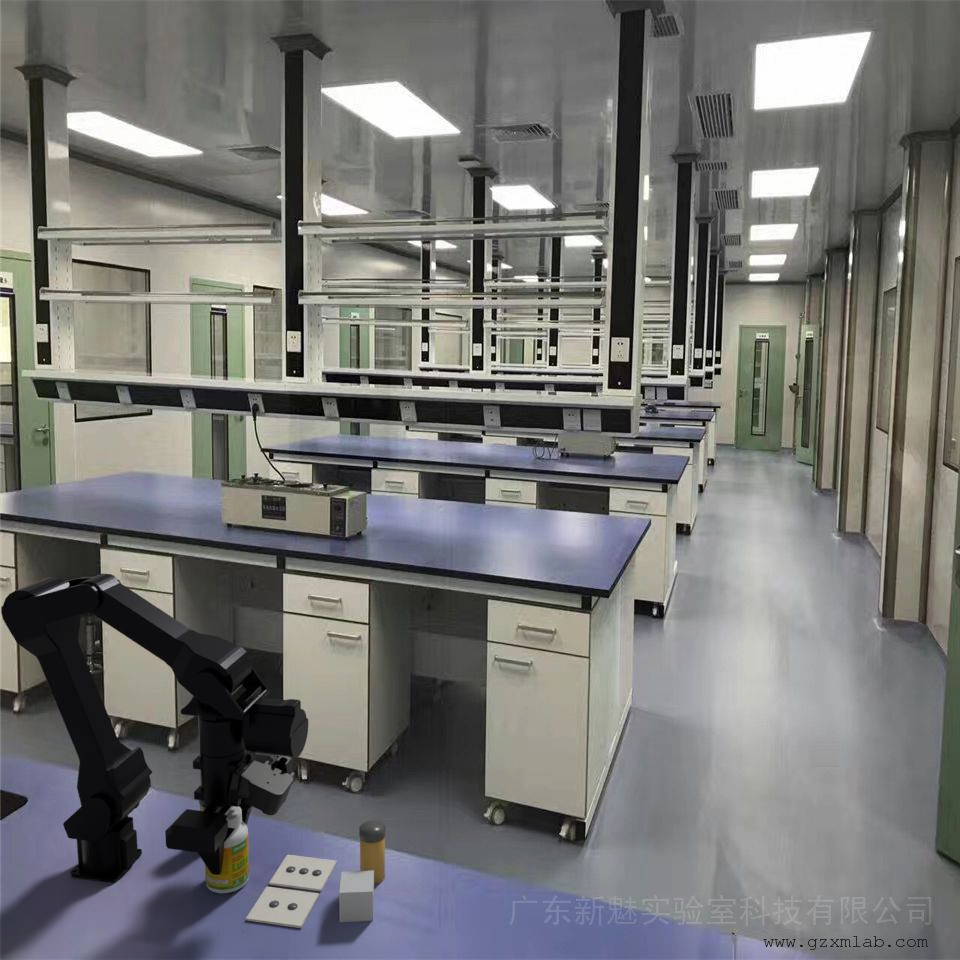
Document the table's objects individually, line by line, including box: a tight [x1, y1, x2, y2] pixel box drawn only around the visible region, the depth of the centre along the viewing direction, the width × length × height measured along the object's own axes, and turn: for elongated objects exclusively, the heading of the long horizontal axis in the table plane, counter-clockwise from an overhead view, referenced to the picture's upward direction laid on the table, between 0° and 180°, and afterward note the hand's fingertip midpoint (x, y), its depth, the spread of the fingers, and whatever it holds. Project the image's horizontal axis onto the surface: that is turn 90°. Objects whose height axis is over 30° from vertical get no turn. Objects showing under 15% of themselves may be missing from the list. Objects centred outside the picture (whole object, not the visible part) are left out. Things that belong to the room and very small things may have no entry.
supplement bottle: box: [204, 806, 250, 894], centre depth 107 cm, size 5×5×10 cm
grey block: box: [338, 870, 375, 923], centre depth 102 cm, size 4×4×4 cm
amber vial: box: [358, 819, 387, 886], centre depth 108 cm, size 3×3×7 cm
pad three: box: [268, 854, 338, 892], centre depth 109 cm, size 7×6×1 cm
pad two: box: [245, 886, 320, 929], centre depth 103 cm, size 7×6×1 cm
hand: (226, 860), depth 107 cm, fingers closed on supplement bottle, 5 cm apart
